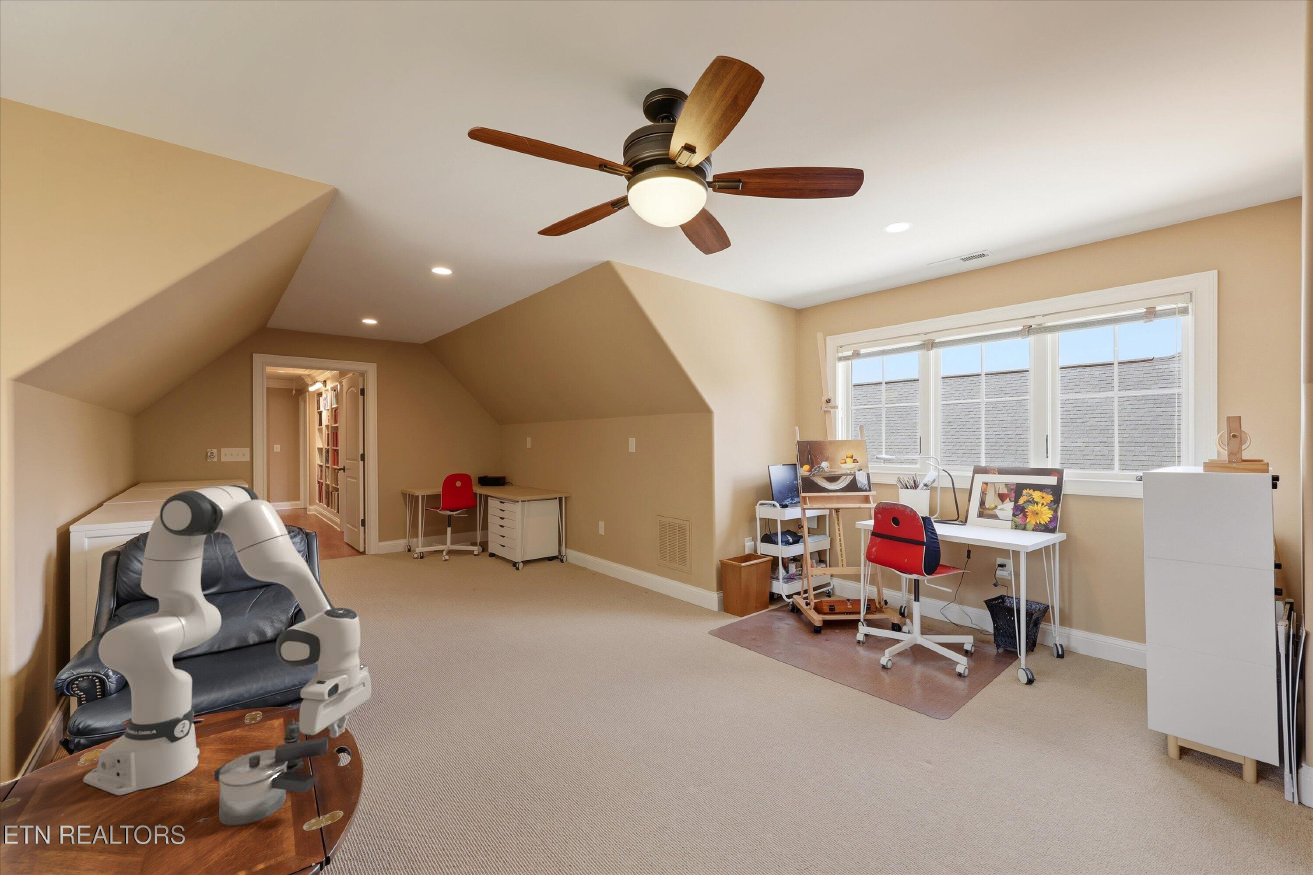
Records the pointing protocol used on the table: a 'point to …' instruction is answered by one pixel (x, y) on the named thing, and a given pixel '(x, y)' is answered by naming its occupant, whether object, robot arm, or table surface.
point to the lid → (269, 762)
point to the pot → (258, 796)
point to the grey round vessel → (293, 737)
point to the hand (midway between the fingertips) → (337, 734)
